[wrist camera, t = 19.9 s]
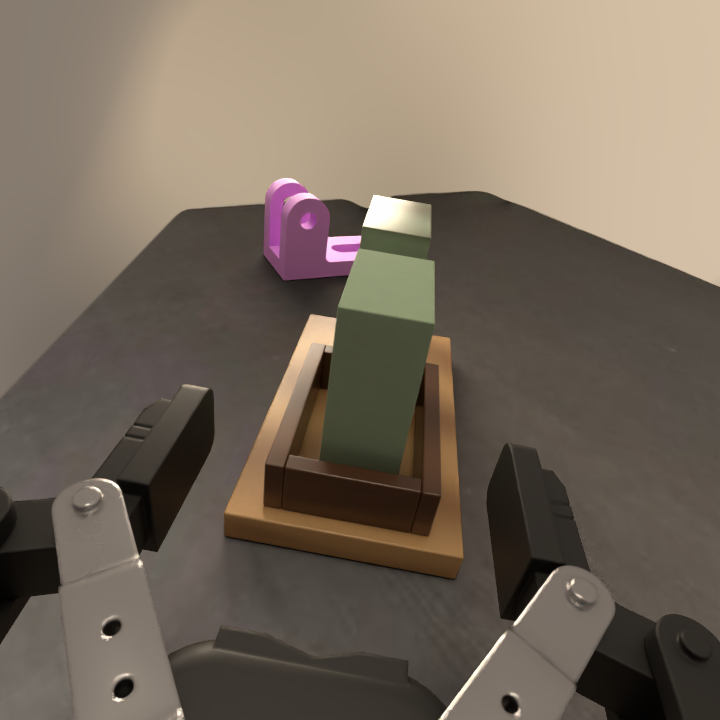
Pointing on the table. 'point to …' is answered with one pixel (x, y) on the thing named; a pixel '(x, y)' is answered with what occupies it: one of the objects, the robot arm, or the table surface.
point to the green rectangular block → (378, 360)
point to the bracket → (303, 235)
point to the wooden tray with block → (347, 483)
